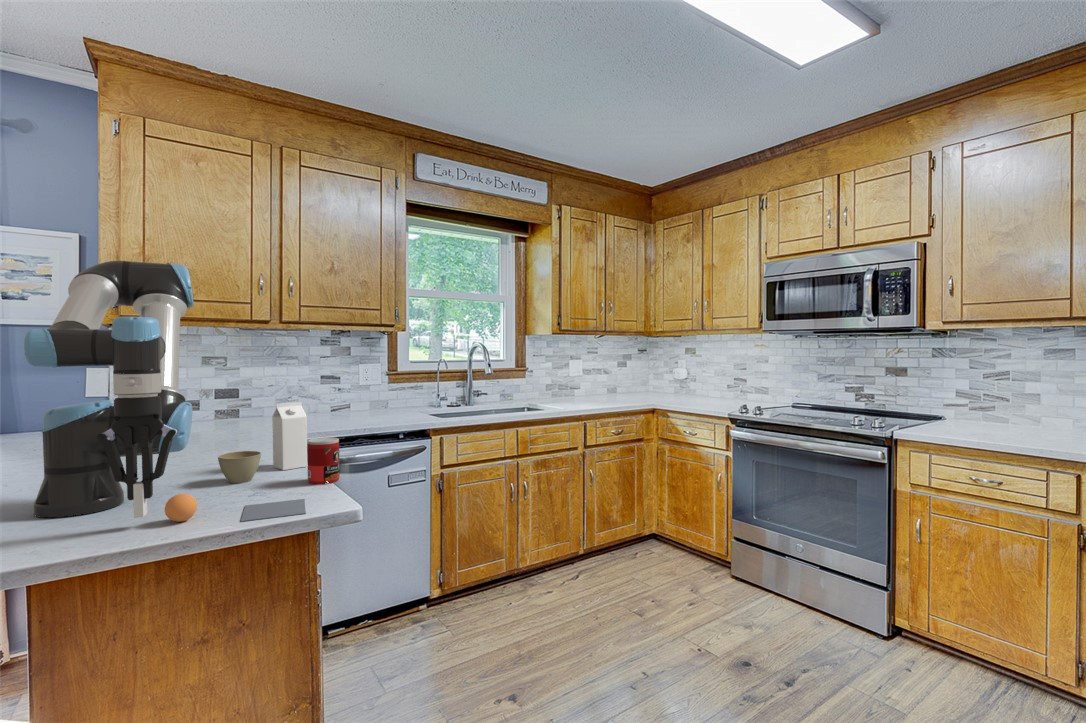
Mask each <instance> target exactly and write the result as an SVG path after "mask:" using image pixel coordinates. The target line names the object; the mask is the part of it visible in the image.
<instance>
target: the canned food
mask: <svg viewBox="0 0 1086 723" xmlns="http://www.w3.org/2000/svg"><path fill="white" fill-rule="evenodd" d="M307 465H308V466H307V481H308V483H309V484H310V483H312V484H311V485H316V484H322V485H326V484H325V483H327V482H326V481H328V482H329V483H330V484H335V483H336V482H337V483H338V481H339V480H340V473H341V472H340V439H339V438H337V437H331V436H328V437H327V436H326V437H324V436H323V437H315V438H311V439H307Z"/></svg>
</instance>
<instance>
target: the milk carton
mask: <svg viewBox="0 0 1086 723" xmlns="http://www.w3.org/2000/svg"><path fill="white" fill-rule="evenodd" d="M302 403H303V402H302V401H297V402H284V403H276V409H275V410H274V412H273V414H272V419H271V420H272V464H273V468H275V469H279V470H282V471H287V470H293V469H301V468H305V467H308V466H307V441H308V420H307V419H308V418H307V414H306V412H305V410H304V408H303V406H302Z"/></svg>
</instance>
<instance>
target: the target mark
mask: <svg viewBox="0 0 1086 723" xmlns="http://www.w3.org/2000/svg"><path fill="white" fill-rule="evenodd" d="M306 514H307V512H306V502H305V498H298V499H291V500H282V501H273V502H263V503H257V504H255V503H254V504H248V505H244V508H243V512H242V516H241V520H240V523H242V522H251V521H258V520H259V521H260V520H268V519H269V520H270V519H274V518H276V519H277V518H285V517H291V516H292V517H293V516H301V515H306Z"/></svg>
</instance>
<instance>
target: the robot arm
mask: <svg viewBox="0 0 1086 723" xmlns="http://www.w3.org/2000/svg"><path fill="white" fill-rule="evenodd" d="M191 282H192V281H191V277H190V272H189V268H188V267H186V266H185V265H183V264H176V263H170V262H167V263H160V262H159V263H158V262H157V263H156V262H144V261H132V260H131V261H129V260H110V261H105V262H101V263H97V264H95V265H92V266H90V267H88V268H86V269H84V270H82V271H80V272H79V273H77V274H76V275H74V277H73V279H72V280H71V281H70V283H69V286H68V290H67V293H68V297H67V299H66V301H65V302H64V304H63V306H62V307H61V309H60V310H59V312H58V314H57V316H56V317H55V319H54V320H53V323H52V324H51V325H50V327H49V328H47V327H43V328H33V329H29V330H28V331H27V332H26V334H25V336H24V340H23V341H24V342H23V351H24V356H25V359H26V361H27V363H28V364H29V365H30V366H33V367H38V368H39V367H41V368H42V367H47V368H61V367H62V368H63V367H64V368H67V367H70V368H71V367H109V366H110V367H111V366H112V367H113V372H112V378H113V379H112V380H113V382H112V384H113V386H112V387H113V395H115V396H117V397H114V399H113V402H112V400H111V399H102V400H92V401H85V402H80V403H74V404H67V405H66V404H65V405H61V406H57V407H53V408H49V409H48V410H46V412H45V413H43V417H42V430H40V432H41V433H42V451H43V455H42V456H43V473H44V474H43V480H42V483H41V485H40V488H39V490H38V492H37V496H36V498H35V501H34V504H33V515H34V514H35V515H36V516H35V515H34V516H35V517H37V516H40V517H39V518H44V517H55V518H64V517H63V516H68V517H75V515H76V516H81V514H83V515H88V514H92V513H93V512H94V513H98V512H101V511H105V510H109V509H112V508H115V507H118V506H119V505H122V504H123V503H124V502H125V493H124V492H125V491H124V490H123V488H122V485H121V483H125V484H126V493H127V494H126V495H127V496H126V497H127V500H128V501H133V518H134V519H137V518H144V517H145V516H146V515H147V514H148V499H151V498H152V497H153V494H154V492H153V491H154V490H153V489H154V487H153V486H154V485H153V484H154V483H153V481H154V480H157V479H159V478H161V477H162V476H164V474H165V471H166V466H167V462H168V458H169V454H170V453H176V452H180V451H183V450H184V449H185V448H186V447H187V445H188V443H189V439H190V435H191V429H192V419H193V405H192V403H191V402H188V401H186V397H185V395H184V394H183V393H181V392H180V391H179V384H180V382H179V376H180V373H179V372H180V333H181V332H180V331H181V318H183V317H184V316H185V315H187V314H186V313H187V312H188V309H190V308H193V307H194V304H195V303H194V296H193V289H192V283H191ZM114 306H115V307H116V306H119V307H120V306H124V307H125V306H126V307H132V308H133V310H134V312H136V314H138V315H139V316H118V317H115V318H113V320H112V324H111V326H112V327H111V328H112V329H100V328H101V326H102V324H103V322H104V320H105V317H106V315H107V312H108V311H109V309H112V308H113V307H114ZM153 455H158V457H157V460H156V463H155V468H154V463H153V462H154V459H153V458H154V456H153ZM138 456H141V469H142V470H141V473H142V474H141V476H142V479H141V481H140V480H139V477H138ZM124 457H125V467H124V464H123V461H122V459H121V458H124ZM138 480H139V481H138ZM73 515H74V516H73Z"/></svg>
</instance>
